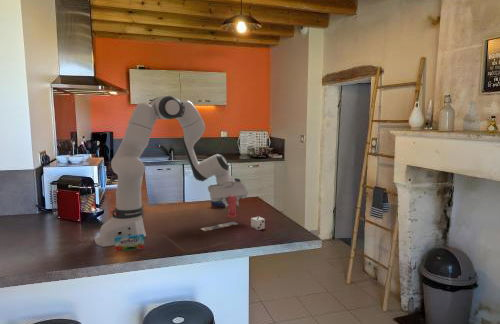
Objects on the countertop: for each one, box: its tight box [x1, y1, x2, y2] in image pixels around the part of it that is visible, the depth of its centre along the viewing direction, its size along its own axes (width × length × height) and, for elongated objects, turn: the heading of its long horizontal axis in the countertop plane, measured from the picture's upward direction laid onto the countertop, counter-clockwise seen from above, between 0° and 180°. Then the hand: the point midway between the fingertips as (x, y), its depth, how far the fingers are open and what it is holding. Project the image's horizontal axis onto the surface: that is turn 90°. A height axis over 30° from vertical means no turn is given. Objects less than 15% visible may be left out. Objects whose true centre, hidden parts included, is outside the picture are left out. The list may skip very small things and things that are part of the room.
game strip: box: [200, 221, 238, 232], centre depth 179 cm, size 22×12×1 cm, turn 125°
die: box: [250, 216, 266, 231], centre depth 179 cm, size 5×5×5 cm
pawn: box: [227, 195, 238, 219], centre depth 182 cm, size 5×5×11 cm
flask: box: [210, 200, 227, 208], centre depth 220 cm, size 9×3×11 cm, turn 88°
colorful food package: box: [114, 234, 146, 253], centre depth 150 cm, size 12×2×6 cm, turn 108°
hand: (232, 205), depth 182 cm, fingers closed on pawn, 4 cm apart
